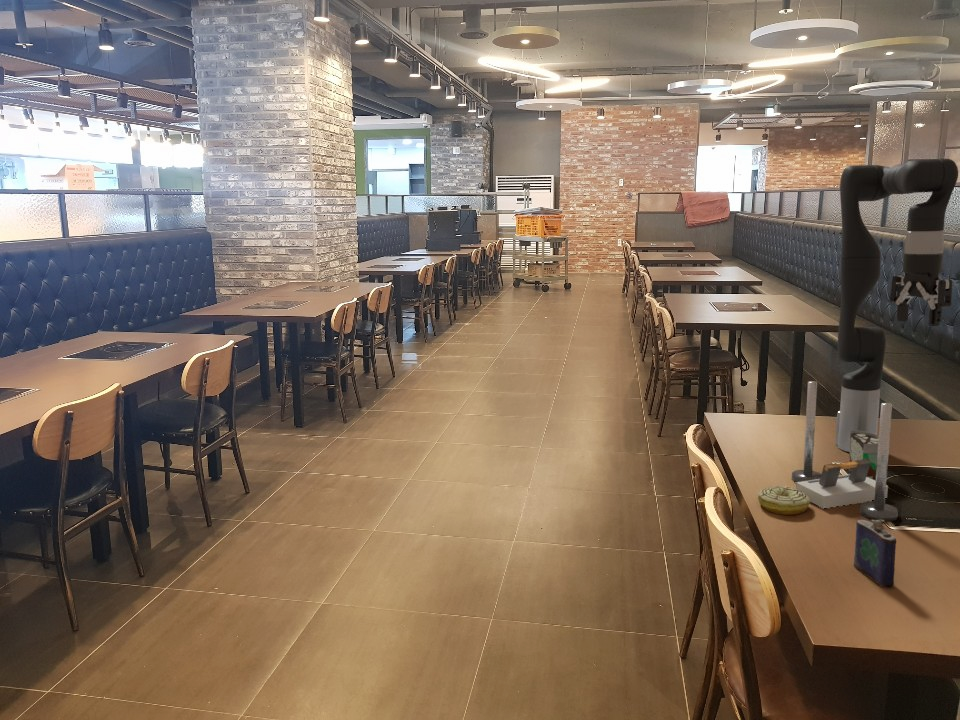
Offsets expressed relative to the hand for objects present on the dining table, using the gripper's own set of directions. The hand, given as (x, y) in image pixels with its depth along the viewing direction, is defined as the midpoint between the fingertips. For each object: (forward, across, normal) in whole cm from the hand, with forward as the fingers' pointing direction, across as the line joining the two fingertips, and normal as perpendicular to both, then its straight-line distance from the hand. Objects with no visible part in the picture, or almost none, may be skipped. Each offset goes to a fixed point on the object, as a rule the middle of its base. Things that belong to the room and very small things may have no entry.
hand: (917, 323), depth 167 cm
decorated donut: (+38, -2, +36) cm, 52 cm away
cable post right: (+38, -13, +20) cm, 45 cm away
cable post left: (+38, +9, +20) cm, 44 cm away
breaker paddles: (+35, -2, +20) cm, 40 cm away
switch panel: (+38, -2, +20) cm, 43 cm away
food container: (+38, +6, +5) cm, 39 cm away
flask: (+38, -34, +41) cm, 66 cm away
